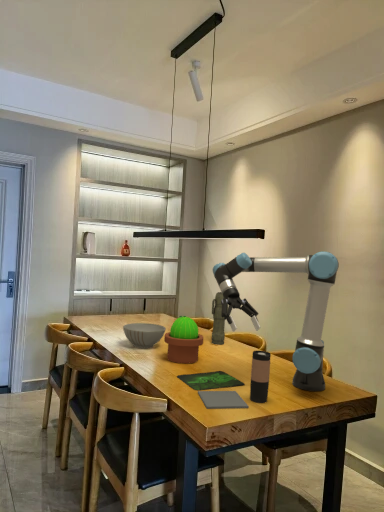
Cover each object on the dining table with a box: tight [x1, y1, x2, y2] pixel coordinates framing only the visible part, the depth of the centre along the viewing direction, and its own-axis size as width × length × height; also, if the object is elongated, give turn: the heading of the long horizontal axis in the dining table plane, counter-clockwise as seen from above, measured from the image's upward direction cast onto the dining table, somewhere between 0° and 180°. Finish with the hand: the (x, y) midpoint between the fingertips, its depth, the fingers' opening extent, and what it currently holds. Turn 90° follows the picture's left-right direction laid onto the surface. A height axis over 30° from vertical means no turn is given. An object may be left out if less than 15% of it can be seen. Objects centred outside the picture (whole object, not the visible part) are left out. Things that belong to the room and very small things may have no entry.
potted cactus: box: [163, 315, 204, 364], centre depth 218 cm, size 22×22×25 cm
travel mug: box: [249, 350, 272, 404], centre depth 163 cm, size 8×8×20 cm
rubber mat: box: [197, 390, 250, 410], centre depth 160 cm, size 17×17×1 cm
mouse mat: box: [176, 370, 245, 392], centre depth 184 cm, size 27×22×1 cm
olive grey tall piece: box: [211, 291, 229, 346], centre depth 266 cm, size 9×12×35 cm
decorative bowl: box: [122, 322, 167, 349], centre depth 244 cm, size 27×27×12 cm
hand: (247, 329), depth 172 cm, fingers open, 13 cm apart
